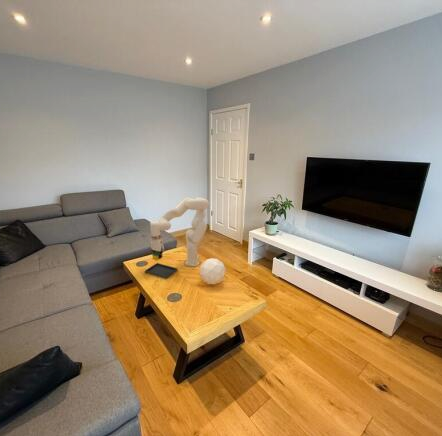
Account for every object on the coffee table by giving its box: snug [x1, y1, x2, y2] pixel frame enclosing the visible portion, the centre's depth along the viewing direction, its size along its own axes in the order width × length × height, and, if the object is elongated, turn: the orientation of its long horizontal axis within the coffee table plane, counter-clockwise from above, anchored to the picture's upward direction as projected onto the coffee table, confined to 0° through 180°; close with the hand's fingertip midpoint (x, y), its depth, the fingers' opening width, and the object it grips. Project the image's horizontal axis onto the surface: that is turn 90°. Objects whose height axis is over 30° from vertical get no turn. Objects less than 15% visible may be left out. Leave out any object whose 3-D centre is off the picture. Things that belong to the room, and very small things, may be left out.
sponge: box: [151, 251, 163, 261], centre depth 190 cm, size 7×4×5 cm, turn 153°
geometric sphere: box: [199, 257, 227, 286], centre depth 177 cm, size 19×20×20 cm
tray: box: [144, 262, 178, 280], centre depth 194 cm, size 16×22×2 cm
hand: (157, 257), depth 191 cm, fingers closed on sponge, 4 cm apart
